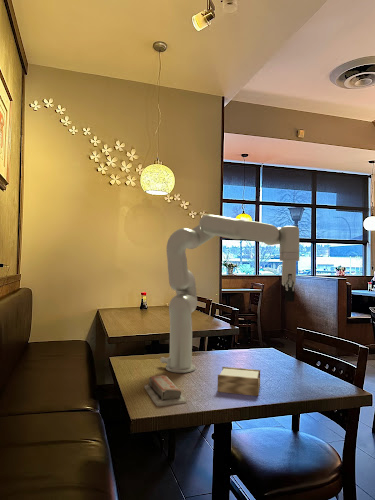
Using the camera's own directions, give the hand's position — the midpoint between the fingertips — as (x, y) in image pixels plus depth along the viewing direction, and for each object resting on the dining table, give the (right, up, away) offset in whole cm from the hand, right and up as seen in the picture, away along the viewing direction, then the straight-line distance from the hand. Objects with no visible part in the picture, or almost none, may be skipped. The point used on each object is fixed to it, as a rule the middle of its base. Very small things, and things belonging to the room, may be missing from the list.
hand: (289, 300), depth 141 cm
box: (-22, -30, -13) cm, 39 cm away
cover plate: (-22, -27, -13) cm, 37 cm away
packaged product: (-48, -30, -20) cm, 61 cm away
